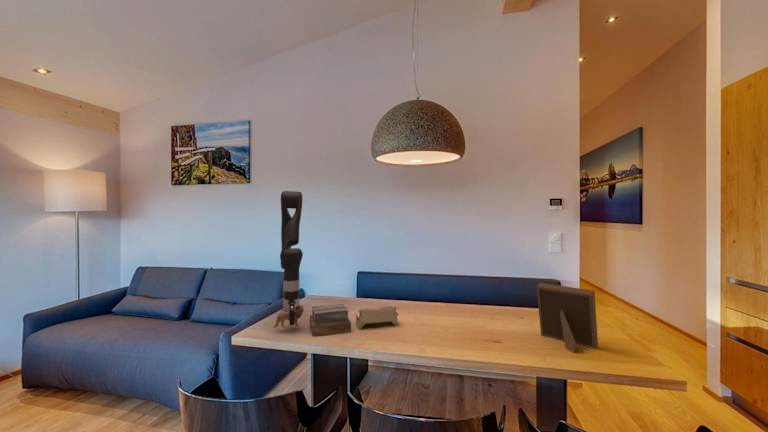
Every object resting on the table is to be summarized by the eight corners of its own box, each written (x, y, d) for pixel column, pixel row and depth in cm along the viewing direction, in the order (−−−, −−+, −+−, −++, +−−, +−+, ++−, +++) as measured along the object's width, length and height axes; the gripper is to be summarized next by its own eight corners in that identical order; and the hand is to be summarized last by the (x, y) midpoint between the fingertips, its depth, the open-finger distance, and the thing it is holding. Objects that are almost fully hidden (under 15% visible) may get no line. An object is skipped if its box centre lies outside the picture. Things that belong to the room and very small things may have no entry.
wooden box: (309, 325, 166) (309, 305, 166) (344, 321, 171) (344, 302, 171) (312, 336, 151) (312, 315, 150) (350, 332, 156) (350, 311, 156)
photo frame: (544, 332, 154) (544, 280, 154) (597, 346, 139) (598, 288, 138) (532, 341, 144) (532, 286, 144) (588, 357, 129) (588, 294, 128)
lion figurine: (300, 321, 165) (300, 303, 165) (305, 324, 161) (305, 306, 161) (272, 327, 156) (271, 308, 156) (275, 330, 152) (275, 311, 152)
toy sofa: (393, 320, 173) (393, 301, 173) (398, 326, 165) (398, 306, 165) (354, 324, 167) (354, 304, 167) (358, 330, 159) (358, 309, 159)
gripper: (283, 286, 165) (283, 319, 165) (283, 293, 151) (283, 329, 152) (298, 285, 167) (298, 317, 167) (300, 291, 154) (300, 327, 154)
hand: (291, 323), depth 160 cm, fingers closed on lion figurine, 4 cm apart
